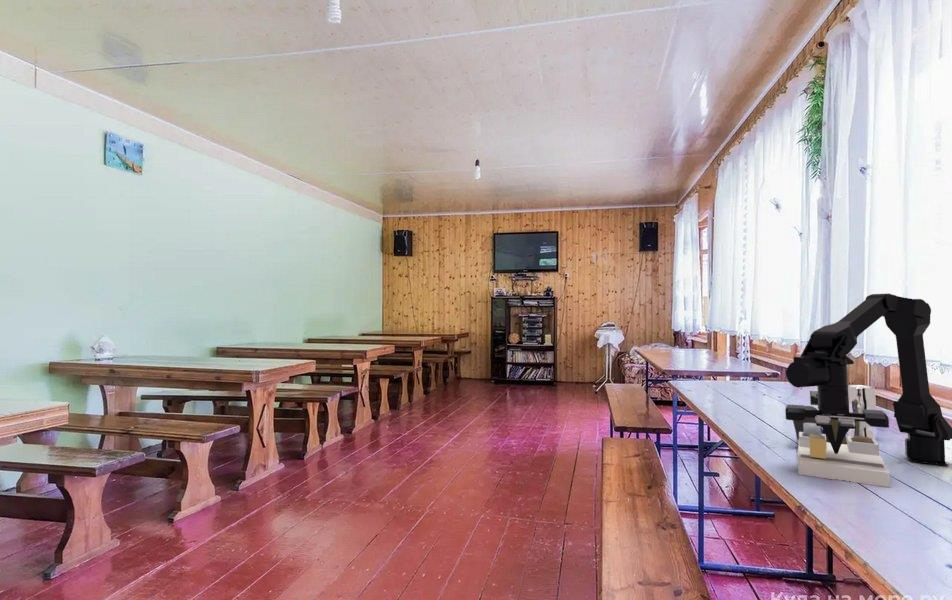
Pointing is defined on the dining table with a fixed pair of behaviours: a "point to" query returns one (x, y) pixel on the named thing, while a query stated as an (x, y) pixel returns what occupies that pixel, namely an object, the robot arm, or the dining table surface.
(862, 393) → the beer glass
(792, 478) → the dining table surface
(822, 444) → the tan wooden brick
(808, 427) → the grey button
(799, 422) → the leaning round-cornered charcoal block
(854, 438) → the walnut button
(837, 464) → the control panel
